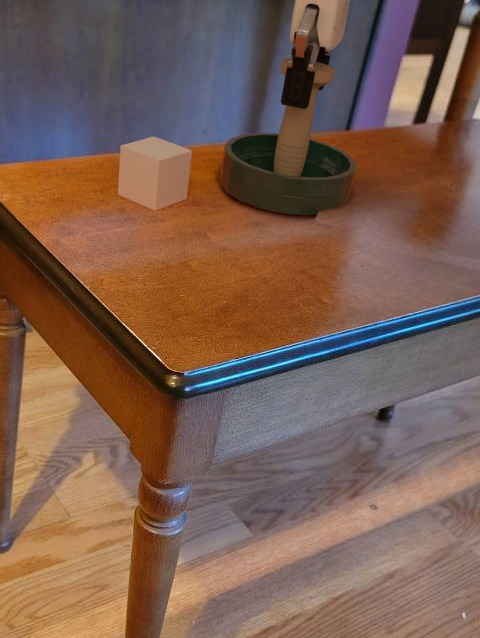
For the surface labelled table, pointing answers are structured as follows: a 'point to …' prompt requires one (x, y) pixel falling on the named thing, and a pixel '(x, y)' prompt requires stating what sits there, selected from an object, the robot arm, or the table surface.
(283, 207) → the bowl
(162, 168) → the beige cube
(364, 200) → the table surface
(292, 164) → the handle
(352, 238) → the table surface
